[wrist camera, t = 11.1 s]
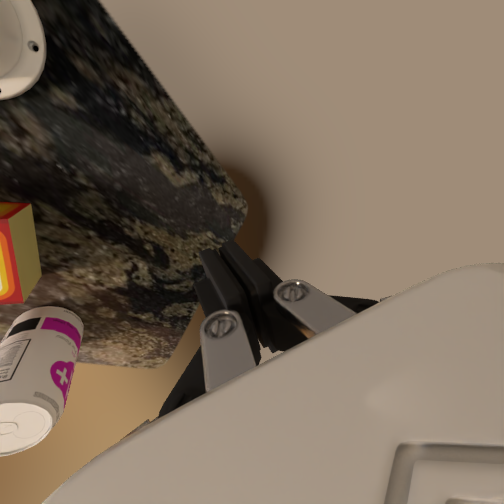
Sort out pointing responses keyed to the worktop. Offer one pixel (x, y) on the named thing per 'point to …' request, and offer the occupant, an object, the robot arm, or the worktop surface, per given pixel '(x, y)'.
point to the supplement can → (36, 374)
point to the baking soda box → (17, 253)
